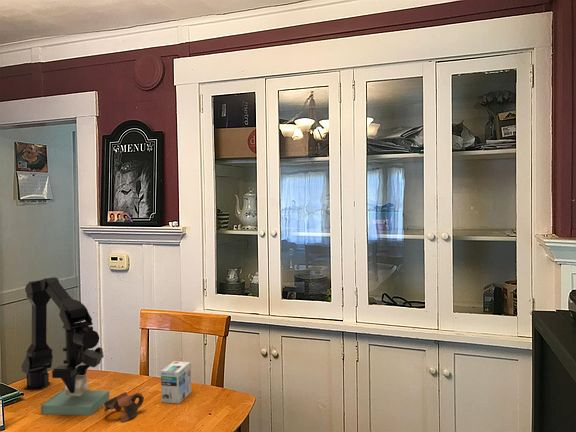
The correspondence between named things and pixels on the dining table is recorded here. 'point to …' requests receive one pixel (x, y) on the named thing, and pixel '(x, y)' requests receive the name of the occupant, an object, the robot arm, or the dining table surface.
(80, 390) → the wooden cube
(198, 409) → the dining table surface
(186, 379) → the light bulb box
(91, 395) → the green book
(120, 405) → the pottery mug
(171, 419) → the dining table surface
